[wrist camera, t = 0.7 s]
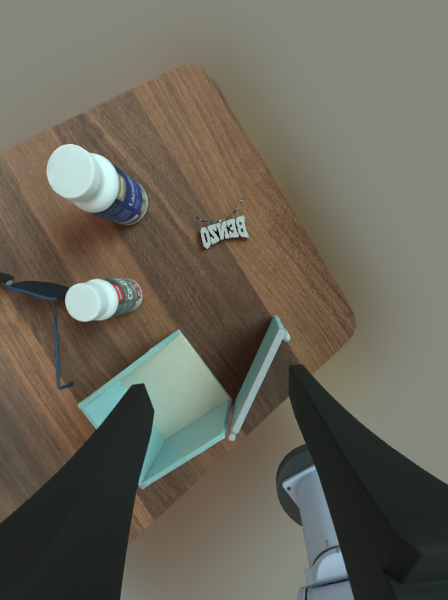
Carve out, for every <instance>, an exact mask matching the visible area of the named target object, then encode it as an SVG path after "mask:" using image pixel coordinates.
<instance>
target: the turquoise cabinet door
mask: <svg viewBox="0 0 448 600" xmlns="http://www.w3.org/2000/svg"><path fill="white" fill-rule="evenodd" d="M282 339H283V340H284V341H286V342H287V341H289V340H290V336H289V334H288V332H287V330H286V329H284V327H283V325H282V323H281V321H280V319H279V317H278V316H275V315H274V317H273V319H272V321H271V324H270V326H269V328H268V330H267V332H266V334H265V337H264V339H263V341H262V343H261V345H260V348H259V350H258V352H257V354H256V356H255V359H254V361H253V363H252V365H251V367H250V369H249V372H248V374H247V376H246V378H245V380H244V383H243V385H242V387H241V389H240V391H239V394H238V396H237V403H236V409H235V415H234V422H233V427H232V431H233V432H235V433H237V434H238V432H239V430H240V428H241V425H242V423H243V421H244V419H245V417H246V415H247V413H248V411H249V409H250V406H251V404H252V402H253V400H254V398H255V396H256V394H257V392H258V389H259V387H260V385H261V383H262V381H263V379H264V377H265V375H266V373H267V370H268V368H269V366H270V364H271V362H272V360H273V358H274V356H275V353H276V351H277V349H278V347H279V345H280V343H281V341H282Z"/></svg>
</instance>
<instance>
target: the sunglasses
mask: <svg viewBox="0 0 448 600" xmlns="http://www.w3.org/2000/svg"><path fill="white" fill-rule="evenodd" d="M13 278H14V277H13V276H11V275H9V274H5V273H0V282H2V281H7V280H10V281H8V282H7V283H6V285H4V284H3V283H2V285H3V286H8V289H11V290H15V291H19V292H23V293H27V294H30V295H33V296H36V297H40V298H43V299H47V300H57V299H60V298H64V297H66V294H67V292H68V290H69V289H70V288H68V287H65V286H62V285H58V284H54V283H48V282H39V281H24V282H18V283H14V284H12V283H13V281H12V280H11V279H13ZM11 284H12V285H11ZM54 332H55V358H56V378H57V388H58V389H64V388H67V387H70V386H72V385H73V382H70V383H68V384H66V385H63V386H61V387H60V372H59V349H58V328H57V313H56V305H55V303H54Z"/></svg>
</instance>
